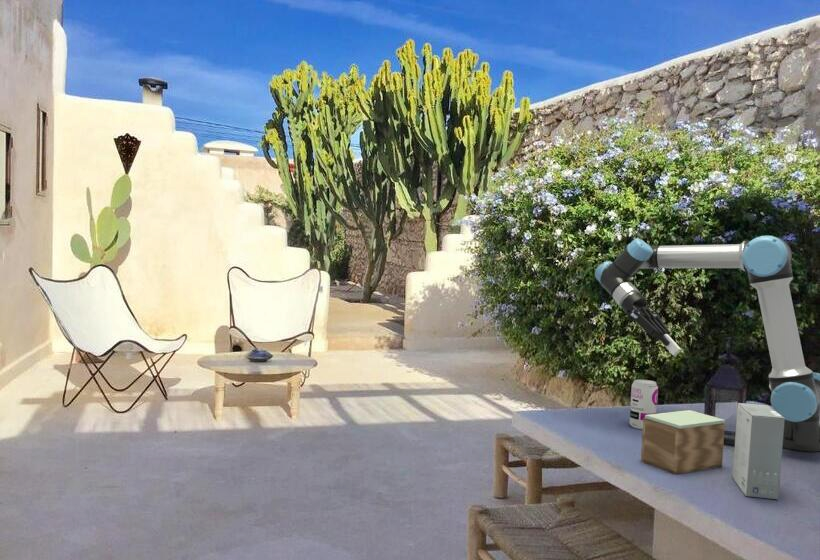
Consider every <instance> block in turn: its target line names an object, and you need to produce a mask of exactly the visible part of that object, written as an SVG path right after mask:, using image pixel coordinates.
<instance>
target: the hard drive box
mask: <svg viewBox="0 0 820 560" xmlns="http://www.w3.org/2000/svg"><path fill="white" fill-rule="evenodd" d="M784 421H785V418H784V417H783V416H781V415H780V414H779V413H777V412H776V411H774V409H773V407H770V406H769V405H766V404H757V403H756V404H755V403H754V404H753V403H744V402H742V403H741V402H738V403H737V410H736V421H735V422H736V423H735V437H734V451H733V462H732V463H733V464H732V479H733V480H734V482H735V483H736V484H737V485H738V487H739V488H740V490H741V492H742V493H743V494H744V495H745V497H746V496H747V497H755V498H761V499H772V500H779V498H780V497H779V496H780V485H781V473H782V472H781V471H782V461H783V459H782V458H783V447H782V446H783V433H784Z"/></svg>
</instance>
